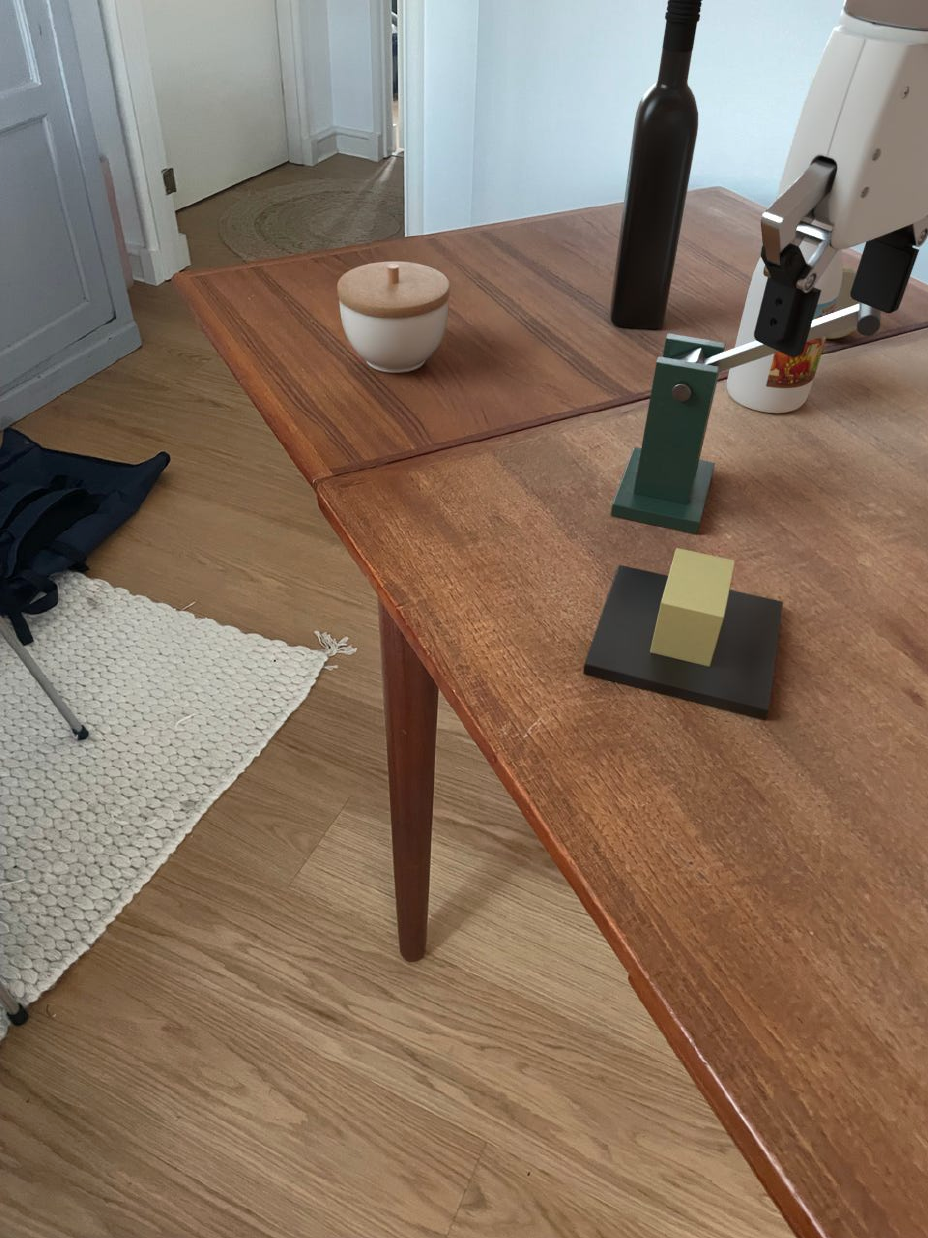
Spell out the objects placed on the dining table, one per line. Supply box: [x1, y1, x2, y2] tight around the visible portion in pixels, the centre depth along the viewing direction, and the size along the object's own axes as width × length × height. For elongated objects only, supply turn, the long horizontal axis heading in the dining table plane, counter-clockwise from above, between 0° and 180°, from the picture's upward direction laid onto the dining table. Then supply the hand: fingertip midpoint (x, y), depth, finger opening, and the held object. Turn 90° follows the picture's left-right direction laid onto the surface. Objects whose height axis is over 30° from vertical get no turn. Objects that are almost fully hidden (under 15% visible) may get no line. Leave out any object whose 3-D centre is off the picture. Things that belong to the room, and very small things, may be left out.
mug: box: [826, 266, 858, 340], centre depth 100 cm, size 8×10×10 cm
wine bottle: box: [609, 0, 703, 330], centre depth 92 cm, size 6×6×30 cm
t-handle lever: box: [672, 302, 882, 374], centre depth 67 cm, size 15×5×2 cm
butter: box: [650, 547, 736, 667], centre depth 63 cm, size 4×6×4 cm, turn 161°
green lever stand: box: [610, 333, 727, 535], centre depth 73 cm, size 7×9×13 cm
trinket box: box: [336, 261, 451, 374], centre depth 91 cm, size 11×11×9 cm
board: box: [582, 564, 784, 721], centre depth 65 cm, size 12×11×1 cm
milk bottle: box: [726, 220, 844, 414], centre depth 83 cm, size 8×8×20 cm
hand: (826, 325), depth 57 cm, fingers open, 9 cm apart
